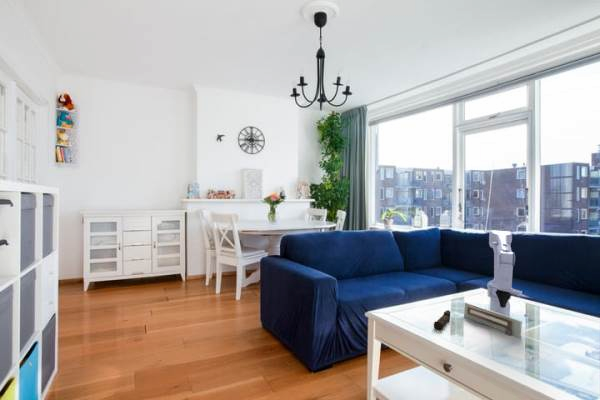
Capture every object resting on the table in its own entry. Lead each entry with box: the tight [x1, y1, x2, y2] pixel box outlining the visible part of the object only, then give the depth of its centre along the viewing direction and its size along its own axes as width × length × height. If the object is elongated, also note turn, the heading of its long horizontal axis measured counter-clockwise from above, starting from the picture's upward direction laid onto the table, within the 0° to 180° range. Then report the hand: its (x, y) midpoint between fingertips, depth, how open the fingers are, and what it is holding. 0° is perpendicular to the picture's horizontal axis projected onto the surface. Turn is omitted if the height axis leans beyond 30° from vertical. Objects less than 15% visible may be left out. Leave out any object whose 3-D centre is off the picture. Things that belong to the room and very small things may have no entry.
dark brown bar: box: [433, 309, 451, 331], centre depth 156 cm, size 19×4×5 cm, turn 139°
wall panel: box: [463, 301, 523, 338], centre depth 155 cm, size 4×26×7 cm, turn 30°
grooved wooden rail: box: [467, 306, 512, 330], centre depth 155 cm, size 1×20×4 cm, turn 30°
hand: (502, 307), depth 153 cm, fingers closed
